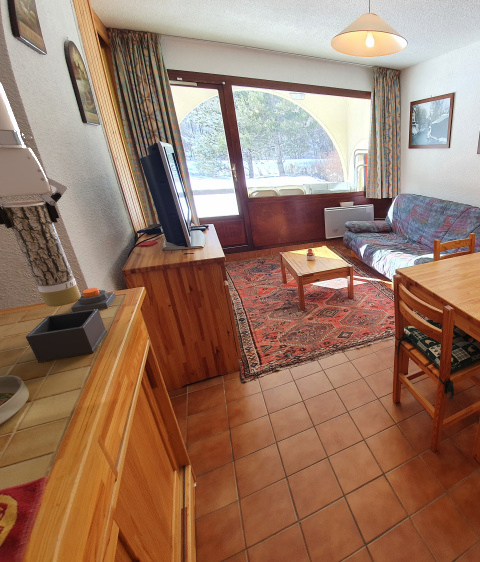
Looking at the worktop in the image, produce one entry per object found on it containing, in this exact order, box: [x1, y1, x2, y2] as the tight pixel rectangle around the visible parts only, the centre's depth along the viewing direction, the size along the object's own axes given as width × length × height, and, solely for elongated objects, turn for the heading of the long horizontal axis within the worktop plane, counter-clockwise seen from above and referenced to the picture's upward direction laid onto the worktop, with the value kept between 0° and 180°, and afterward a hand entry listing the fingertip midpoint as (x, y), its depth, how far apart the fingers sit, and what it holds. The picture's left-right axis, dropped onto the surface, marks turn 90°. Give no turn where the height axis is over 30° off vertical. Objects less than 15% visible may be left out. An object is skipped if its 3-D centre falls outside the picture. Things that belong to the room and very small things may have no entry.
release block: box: [70, 289, 117, 313], centre depth 92 cm, size 8×8×4 cm
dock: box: [25, 309, 107, 364], centre depth 72 cm, size 10×10×7 cm
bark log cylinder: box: [1, 199, 82, 308], centre depth 74 cm, size 7×7×25 cm
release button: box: [81, 287, 100, 298], centre depth 91 cm, size 4×4×2 cm
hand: (32, 223), depth 71 cm, fingers closed on bark log cylinder, 6 cm apart
